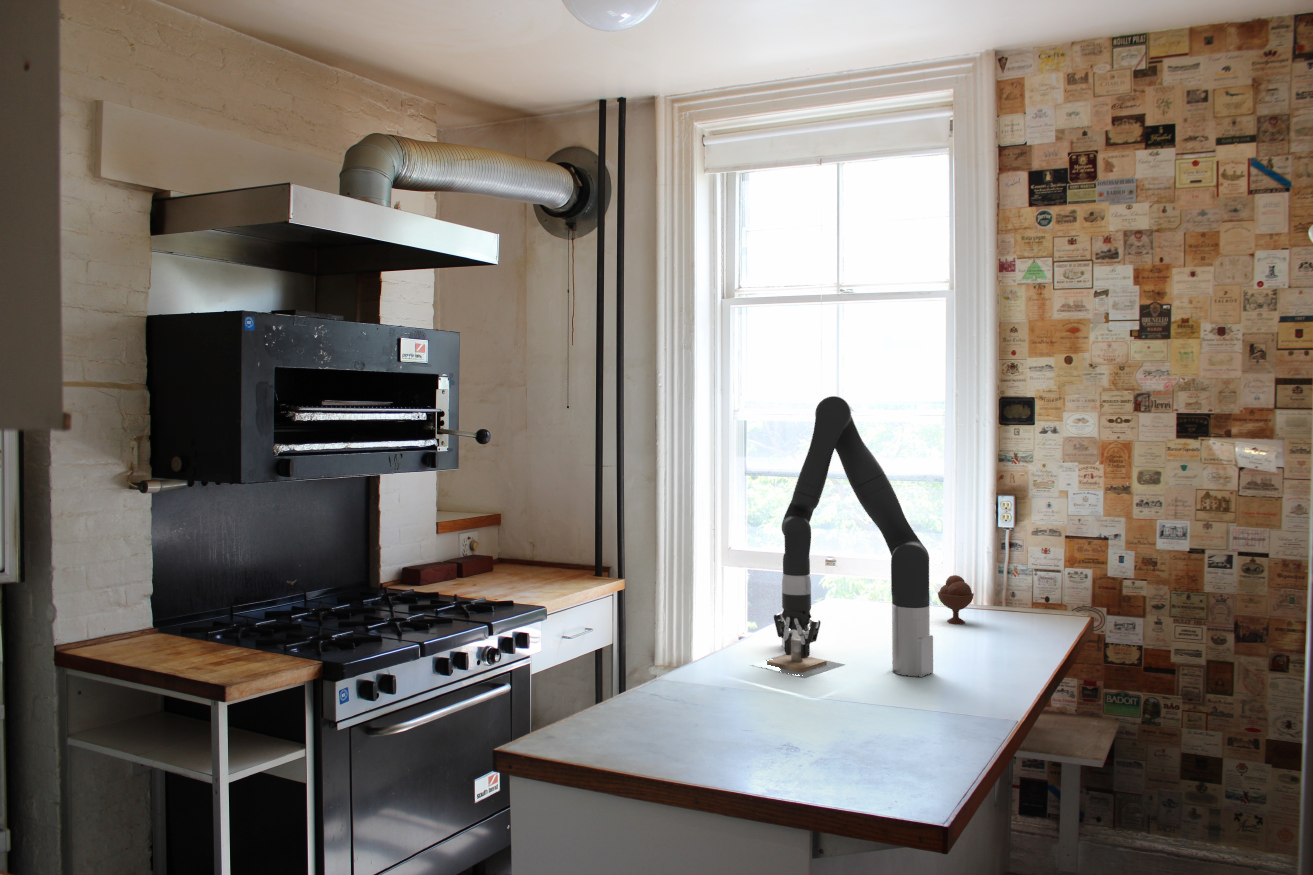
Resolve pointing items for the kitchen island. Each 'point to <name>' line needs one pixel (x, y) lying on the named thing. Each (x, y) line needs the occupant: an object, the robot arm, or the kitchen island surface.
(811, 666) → the lid
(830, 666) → the mat
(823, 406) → the robot arm
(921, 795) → the kitchen island surface
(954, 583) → the ice cream bowl
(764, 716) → the kitchen island surface
